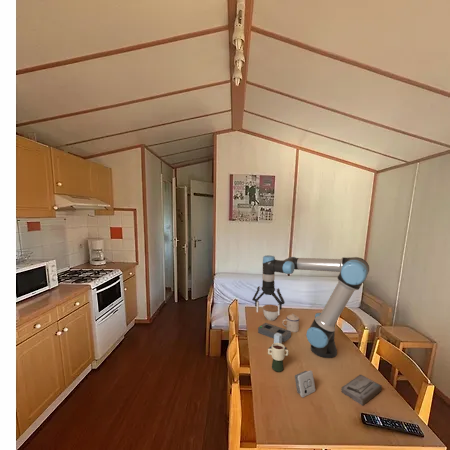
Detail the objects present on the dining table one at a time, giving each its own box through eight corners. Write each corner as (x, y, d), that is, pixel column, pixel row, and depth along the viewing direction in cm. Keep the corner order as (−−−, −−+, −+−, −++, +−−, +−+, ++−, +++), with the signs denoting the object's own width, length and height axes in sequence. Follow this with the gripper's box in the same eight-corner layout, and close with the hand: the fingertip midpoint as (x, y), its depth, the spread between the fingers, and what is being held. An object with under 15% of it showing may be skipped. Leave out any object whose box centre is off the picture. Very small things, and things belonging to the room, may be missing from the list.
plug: (281, 350, 159) (281, 334, 158) (278, 352, 156) (279, 336, 156) (276, 348, 161) (276, 332, 161) (273, 350, 158) (274, 334, 158)
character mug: (286, 365, 143) (287, 343, 142) (288, 374, 136) (289, 350, 135) (266, 364, 144) (267, 342, 143) (268, 372, 137) (268, 349, 136)
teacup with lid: (297, 326, 191) (297, 311, 190) (300, 332, 182) (301, 316, 181) (280, 326, 191) (281, 311, 190) (283, 332, 182) (284, 316, 181)
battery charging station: (290, 336, 176) (291, 330, 175) (284, 342, 168) (284, 335, 168) (265, 327, 188) (265, 321, 188) (258, 332, 181) (258, 326, 180)
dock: (286, 349, 159) (286, 347, 159) (280, 355, 153) (280, 352, 153) (274, 345, 164) (274, 343, 164) (268, 350, 158) (268, 348, 158)
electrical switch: (302, 398, 118) (301, 378, 119) (293, 392, 123) (293, 373, 123) (315, 391, 123) (315, 372, 123) (307, 386, 128) (306, 367, 128)
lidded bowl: (276, 315, 211) (277, 302, 210) (280, 321, 199) (281, 308, 198) (261, 315, 210) (261, 302, 210) (264, 322, 198) (265, 308, 197)
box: (382, 391, 124) (382, 385, 124) (363, 406, 114) (363, 400, 114) (360, 379, 133) (360, 373, 133) (340, 392, 123) (340, 386, 123)
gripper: (289, 280, 162) (288, 313, 163) (250, 276, 171) (250, 308, 172) (287, 283, 155) (287, 318, 156) (247, 279, 163) (247, 312, 165)
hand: (268, 313), depth 164 cm, fingers open, 13 cm apart
